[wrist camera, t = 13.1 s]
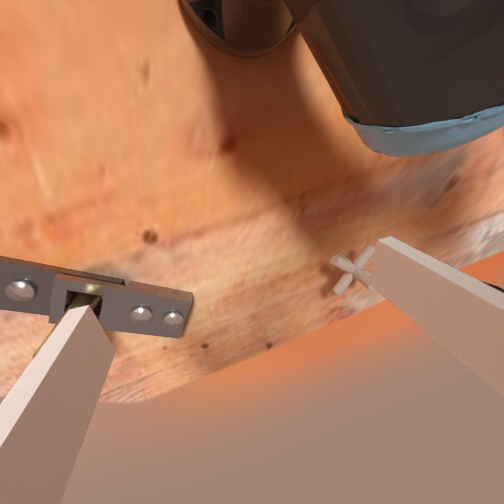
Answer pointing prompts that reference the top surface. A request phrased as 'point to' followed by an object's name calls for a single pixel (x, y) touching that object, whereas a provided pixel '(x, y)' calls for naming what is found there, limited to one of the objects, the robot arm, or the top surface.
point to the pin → (79, 301)
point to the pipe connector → (353, 269)
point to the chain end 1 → (35, 285)
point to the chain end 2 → (127, 305)
